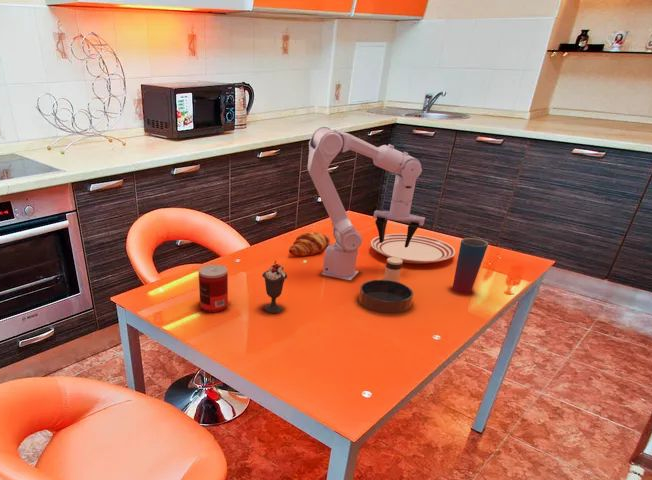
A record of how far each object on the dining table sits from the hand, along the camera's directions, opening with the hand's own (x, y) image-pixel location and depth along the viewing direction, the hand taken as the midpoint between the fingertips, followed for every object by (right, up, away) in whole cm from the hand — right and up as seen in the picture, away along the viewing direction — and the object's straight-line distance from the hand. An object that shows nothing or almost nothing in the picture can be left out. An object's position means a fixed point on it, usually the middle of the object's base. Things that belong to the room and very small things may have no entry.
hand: (393, 244), depth 147 cm
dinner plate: (+12, 0, +18) cm, 21 cm away
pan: (-7, -19, -13) cm, 24 cm away
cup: (+17, -15, -7) cm, 24 cm away
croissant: (-22, +2, +22) cm, 31 cm away
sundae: (-39, -21, -15) cm, 47 cm away
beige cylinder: (-2, -13, -3) cm, 13 cm away
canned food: (-55, -20, -13) cm, 60 cm away
